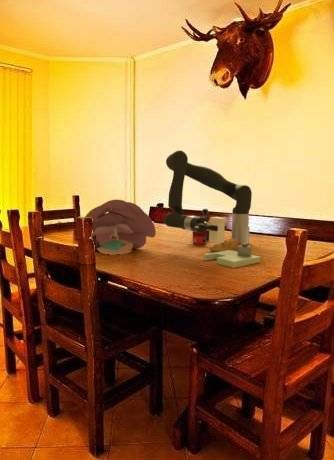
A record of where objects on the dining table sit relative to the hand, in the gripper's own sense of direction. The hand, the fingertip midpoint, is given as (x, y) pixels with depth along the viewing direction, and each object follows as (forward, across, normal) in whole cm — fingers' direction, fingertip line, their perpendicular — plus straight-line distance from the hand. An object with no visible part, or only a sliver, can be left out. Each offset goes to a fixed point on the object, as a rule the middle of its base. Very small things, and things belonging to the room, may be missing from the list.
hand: (221, 228), depth 156 cm
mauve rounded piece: (-48, -26, +16) cm, 57 cm away
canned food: (-38, +23, +15) cm, 47 cm away
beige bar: (-3, 0, +6) cm, 7 cm away
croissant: (-15, +21, +16) cm, 31 cm away
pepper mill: (-51, +39, +15) cm, 66 cm away
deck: (+2, +6, +15) cm, 16 cm away
